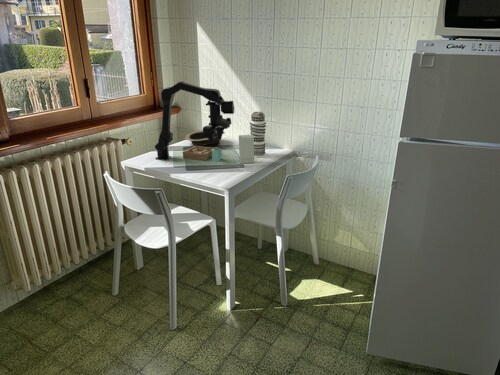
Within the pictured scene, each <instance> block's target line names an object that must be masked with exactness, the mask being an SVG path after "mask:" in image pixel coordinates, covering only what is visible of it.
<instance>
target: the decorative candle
mask: <svg viewBox="0 0 500 375" xmlns="http://www.w3.org/2000/svg"><path fill="white" fill-rule="evenodd" d="M250 117H251V118H250V119H251V120H250V121H249V125H250V126H249V127H250V132H249V134H250V135H253V136H254V158H263V157H265V156H266V141H265V140H266V139H265V137H266V130H267V129H266V127H267V125H266V124H267V122H266V118H265V117H266V114H264V112H263V111H253V112H252V113H251V114H250Z"/></svg>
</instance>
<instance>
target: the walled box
mask: <svg viewBox="0 0 500 375" xmlns="http://www.w3.org/2000/svg"><path fill="white" fill-rule="evenodd" d="M196 148H198V153H192V150H194V149H196ZM214 148H215V147H211V146H210V147H209V146H203V145H201V146H194V145H193V146H192V147H190V148H188V149H186V150H184V151H182V158H183V159H191V160H197V161H203V162H204V161H206V160H208V159H210V158H212V150H213V149H214ZM204 150H207V152H206V153H204V154H201V152H202V151H204Z"/></svg>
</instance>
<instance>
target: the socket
mask: <svg viewBox="0 0 500 375" xmlns="http://www.w3.org/2000/svg"><path fill="white" fill-rule="evenodd" d="M206 152H207V150H204V151H202V152H201V154H204V153H206ZM192 153H198V148H196V149H194V150H192Z"/></svg>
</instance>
